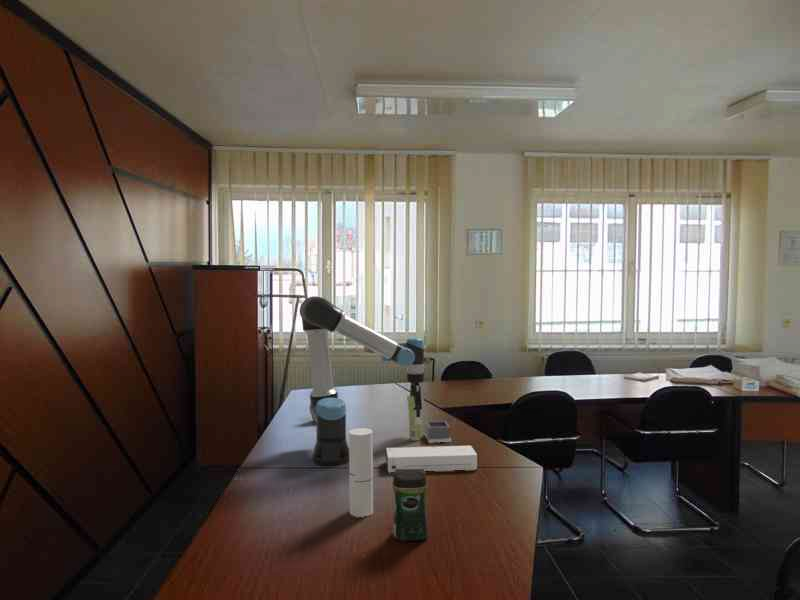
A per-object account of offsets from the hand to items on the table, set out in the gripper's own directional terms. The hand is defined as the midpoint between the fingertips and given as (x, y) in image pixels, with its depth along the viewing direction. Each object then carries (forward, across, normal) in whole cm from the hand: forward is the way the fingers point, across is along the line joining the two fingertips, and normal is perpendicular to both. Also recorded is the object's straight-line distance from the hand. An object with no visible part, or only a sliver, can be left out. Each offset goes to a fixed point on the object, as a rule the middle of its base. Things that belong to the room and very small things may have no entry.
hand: (415, 420), depth 227 cm
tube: (+9, 0, 0) cm, 9 cm away
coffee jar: (+9, -85, +14) cm, 87 cm away
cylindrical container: (+9, -69, +27) cm, 75 cm away
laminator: (+9, -34, -1) cm, 35 cm away
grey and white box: (+9, 0, -10) cm, 13 cm away
